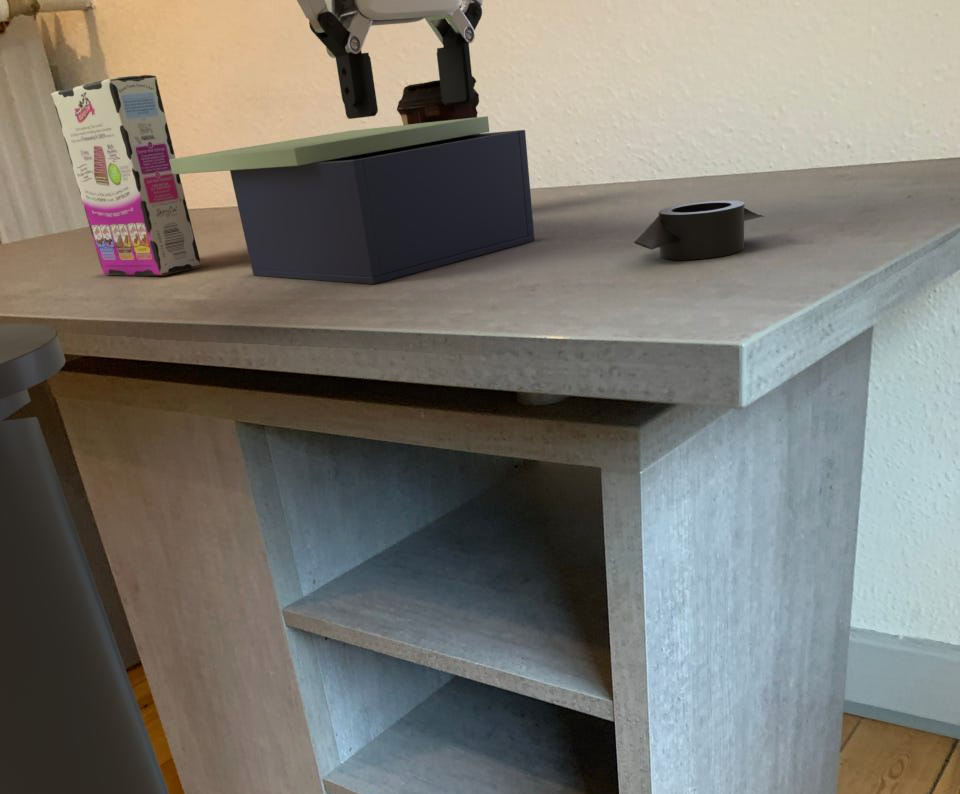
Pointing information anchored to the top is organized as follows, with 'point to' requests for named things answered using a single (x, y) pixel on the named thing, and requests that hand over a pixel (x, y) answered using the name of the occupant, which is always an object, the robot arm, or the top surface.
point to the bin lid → (329, 146)
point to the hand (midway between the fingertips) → (412, 110)
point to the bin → (387, 209)
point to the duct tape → (698, 230)
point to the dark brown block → (432, 105)
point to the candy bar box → (127, 176)
